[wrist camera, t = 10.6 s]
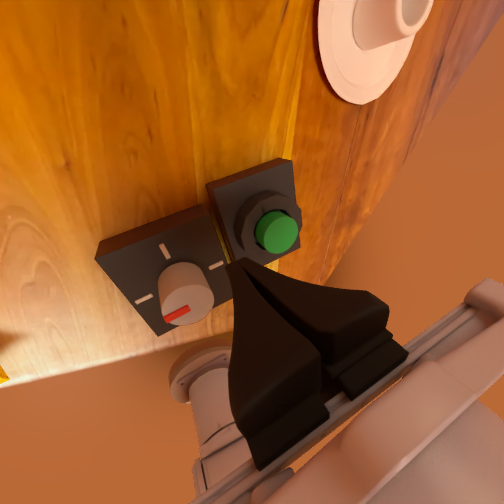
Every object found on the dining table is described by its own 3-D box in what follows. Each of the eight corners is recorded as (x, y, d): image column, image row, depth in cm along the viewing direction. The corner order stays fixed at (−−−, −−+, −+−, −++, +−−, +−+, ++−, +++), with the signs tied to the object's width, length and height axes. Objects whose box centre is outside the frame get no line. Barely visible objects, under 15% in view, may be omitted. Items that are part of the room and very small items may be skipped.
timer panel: (229, 279, 26) (239, 295, 23) (155, 316, 23) (158, 338, 21) (200, 203, 20) (210, 213, 17) (99, 241, 18) (93, 260, 15)
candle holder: (368, 124, 24) (406, 124, 21) (290, 62, 18) (326, 46, 14) (433, -12, 20) (492, -40, 17) (361, -155, 14) (435, -246, 10)
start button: (289, 237, 22) (299, 244, 20) (258, 251, 21) (267, 260, 20) (285, 205, 20) (296, 210, 18) (251, 219, 19) (260, 226, 17)
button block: (290, 240, 27) (310, 254, 24) (233, 267, 25) (247, 286, 22) (279, 157, 21) (304, 162, 18) (205, 184, 19) (219, 194, 16)
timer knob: (193, 254, 19) (205, 278, 16) (209, 286, 21) (221, 312, 18) (148, 274, 18) (151, 304, 15) (170, 305, 20) (176, 336, 17)
